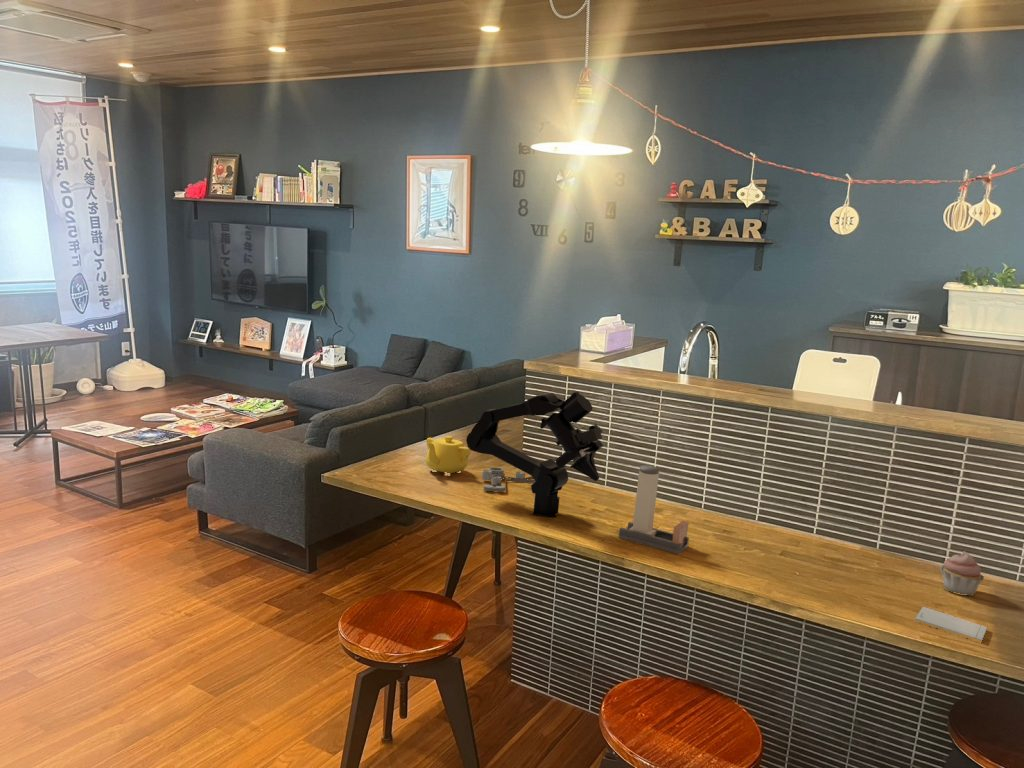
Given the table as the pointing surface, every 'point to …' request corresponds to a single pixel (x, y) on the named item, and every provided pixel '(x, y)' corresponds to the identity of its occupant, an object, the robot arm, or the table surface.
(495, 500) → the table surface
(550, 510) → the robot arm
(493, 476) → the pulley system
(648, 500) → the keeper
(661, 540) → the rail
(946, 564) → the cupcake
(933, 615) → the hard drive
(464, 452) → the teapot
